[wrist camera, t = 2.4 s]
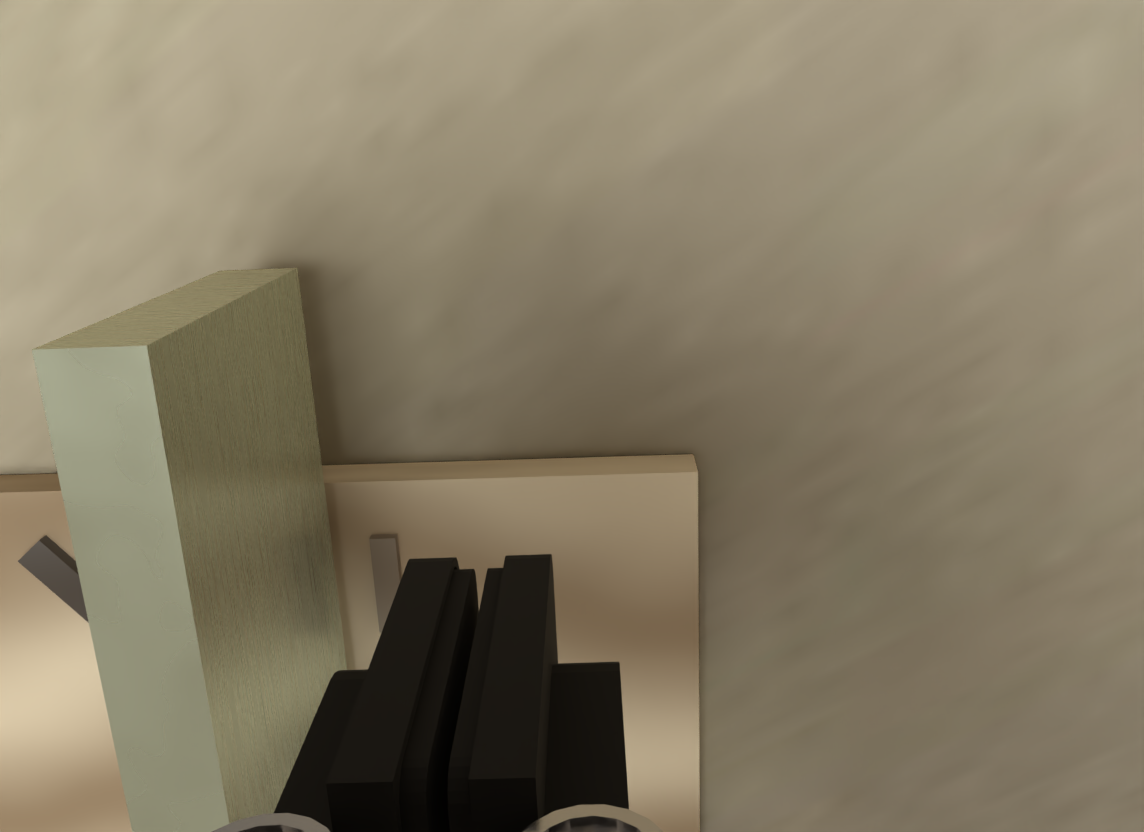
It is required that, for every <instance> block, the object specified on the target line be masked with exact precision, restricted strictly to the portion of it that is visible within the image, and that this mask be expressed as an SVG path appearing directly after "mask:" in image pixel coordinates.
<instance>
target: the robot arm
mask: <svg viewBox="0 0 1144 832" xmlns="http://www.w3.org/2000/svg"><path fill="white" fill-rule="evenodd" d="M212 832H663V831H662V830H661V829H660V828H659V827H658V826H657V825H655V824H654V823H653V822H652V821H651V820H650V819H648V818H646V817H644V816H642V815H639V814H637V813H635V812H633V811H631V810H629V800H628V785H627V769H626V754H625V738H624V722H623V707H622V691H621V676H620V663H619V662H589V663H558V651H557V633H556V614H555V595H554V577H553V562H552V554H537V555H508V556H505V560H504V566H503V568H488V569H487V573H486V578H485V583H484V588H483V593H482V598H481V603H480V609H479V605H478V593H477V581H476V574H475V570H474V569H459V564H458V560H457V558H456V557H449V558H419V559H409V560H408V562H407V565H406V567H405V570H404V573H403V576H402V578H401V581H400V584H399V586H398V589H397V592H396V595H395V597H394V600H393V603H392V605H391V608H390V611H389V614H388V616H387V619H386V622H385V624H384V627H383V630H382V633H381V635H380V638H379V641H378V643H377V646H376V649H375V652H374V654H373V657H372V660H371V662H370V665H369V668H368V669H364V670H339V671H337V672H335V673H334V674H333V676H332V678H331V679H330V681H329V684H328V686H327V689H326V691H325V693H324V696H323V698H322V700H321V703H320V705H319V707H318V710H317V712H316V714H315V717H314V719H313V721H312V724H311V726H310V728H309V731H308V733H307V736H306V738H305V740H304V743H303V745H302V747H301V750H300V752H299V754H298V757H297V759H296V761H295V764H294V766H293V768H292V771H291V773H290V776H289V778H288V780H287V783H286V785H285V787H284V790H283V792H282V794H281V797H280V799H279V801H278V804H277V806H276V808H275V811H274V813H272V814H261V815H257V816H252V817H248V818H244V819H240V820H237V821H234V822H232V823H230V824H228V825H225V826H223V827H221V828H219V829H216V830H214V831H212Z"/></svg>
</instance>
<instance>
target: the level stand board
mask: <svg viewBox="0 0 1144 832" xmlns="http://www.w3.org/2000/svg"><path fill="white" fill-rule="evenodd" d="M322 471H323V479H324V487H325V495H326V503H327V511H328V519H329V527H330V535H331V543H332V551H333V559H334V567H335V575H336V584H337V592H338V600H339V608H340V616H341V624H342V632H343V640H344V648H345V656H346V664H347V670H364V669H368V668H369V665H370V662H371V660H372V657H373V654H374V652H375V649H376V646H377V643H378V641H379V638H380V635H381V633H382V630H383V627H384V624H385V622H386V619H387V616H388V614H389V611H390V608H391V605H392V603H393V600H394V597H395V595H396V592H397V589H398V586H399V584H400V581H401V578H402V576H403V573H404V570H405V567H406V565H407V562H408V560H409V559H419V558H449V557H456V558H457V560H458V564H459V569H474V570H475V574H476V581H477V593H478V605H479V609H480V603H481V598H482V593H483V588H484V583H485V578H486V573H487V569H488V568H503V566H504V560H505V556H508V555H537V554H552V562H553V577H554V595H555V614H556V633H557V651H558V663H589V662H619V663H620V676H621V691H622V707H623V722H624V738H625V754H626V769H627V785H628V800H629V810H631V811H633V812H635V813H637V814H639V815H642V816H644V817H646V818H648V819H650V820H651V821H652V822H653V823H654V824H655V825H657V826H658V827H659V828H660V829H661V830H662V831H663V832H700V785H699V570H698V470H697V466H696V463H695V459H694V455H693V454H682V455H649V456H616V457H583V458H550V459H517V460H484V461H451V462H418V463H385V464H353V465H322ZM0 832H132V828H131V823H130V819H129V814H128V809H127V804H126V799H125V795H124V790H123V785H122V780H121V775H120V771H119V766H118V761H117V756H116V751H115V747H114V742H113V737H112V732H111V727H110V723H109V718H108V713H107V708H106V703H105V699H104V694H103V689H102V684H101V679H100V675H99V670H98V665H97V660H96V655H95V651H94V646H93V641H92V636H91V631H90V626H89V622H88V617H87V612H86V607H85V602H84V598H83V593H82V588H81V583H80V578H79V574H78V569H77V564H76V559H75V554H74V550H73V545H72V540H71V535H70V530H69V526H68V521H67V516H66V511H65V506H64V502H63V497H62V492H61V487H60V482H59V478H58V473H56V474H23V475H0Z"/></svg>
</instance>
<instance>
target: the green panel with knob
mask: <svg viewBox="0 0 1144 832" xmlns="http://www.w3.org/2000/svg"><path fill="white" fill-rule="evenodd" d="M32 353H33V357H34V362H35V367H36V372H37V377H38V381H39V386H40V391H41V396H42V401H43V405H44V410H45V415H46V420H47V425H48V430H49V434H50V439H51V444H52V449H53V454H54V458H55V463H56V468H57V473H58V478H59V482H60V487H61V492H62V497H63V502H64V506H65V511H66V516H67V521H68V526H69V530H70V535H71V540H72V545H73V550H74V554H75V559H76V564H77V569H78V574H79V578H80V583H81V588H82V593H83V598H84V602H85V607H86V612H87V617H88V622H89V626H90V631H91V636H92V641H93V646H94V651H95V655H96V660H97V665H98V670H99V675H100V679H101V684H102V689H103V694H104V699H105V703H106V708H107V713H108V718H109V723H110V727H111V732H112V737H113V742H114V747H115V751H116V756H117V761H118V766H119V771H120V775H121V780H122V785H123V790H124V795H125V799H126V804H127V809H128V814H129V819H130V823H131V828H132V832H212V831H214V830H216V829H219V828H221V827H223V826H225V825H228V824H230V823H232V822H234V821H237V820H240V819H244V818H248V817H252V816H257V815H261V814H272V813H274V811H275V808H276V806H277V804H278V801H279V799H280V797H281V794H282V792H283V790H284V787H285V785H286V783H287V780H288V778H289V776H290V773H291V771H292V768H293V766H294V764H295V761H296V759H297V757H298V754H299V752H300V750H301V747H302V745H303V743H304V740H305V738H306V736H307V733H308V731H309V728H310V726H311V724H312V721H313V719H314V717H315V714H316V712H317V710H318V707H319V705H320V703H321V700H322V698H323V696H324V693H325V691H326V689H327V686H328V684H329V681H330V679H331V678H332V676H333V674H334V673H335V672H337V671H339V670H347V664H346V656H345V648H344V640H343V632H342V624H341V616H340V608H339V600H338V592H337V584H336V575H335V567H334V559H333V551H332V543H331V535H330V527H329V519H328V511H327V503H326V495H325V487H324V479H323V471H322V462H321V454H320V446H319V438H318V430H317V422H316V414H315V406H314V398H313V390H312V382H311V374H310V366H309V358H308V349H307V341H306V333H305V325H304V317H303V309H302V301H301V293H300V285H299V277H298V269H297V268H278V269H252V270H226V271H218V272H216V273H214V274H211V275H209V276H206V277H204V278H202V279H199V280H197V281H194V282H192V283H190V284H187V285H185V286H183V287H180V288H178V289H175V290H173V291H171V292H168V293H166V294H163V295H161V296H159V297H156V298H154V299H152V300H149V301H147V302H144V303H142V304H140V305H137V306H135V307H132V308H130V309H128V310H125V311H123V312H121V313H118V314H116V315H113V316H111V317H109V318H106V319H104V320H101V321H99V322H97V323H94V324H92V325H90V326H87V327H85V328H82V329H80V330H78V331H75V332H73V333H70V334H68V335H66V336H63V337H61V338H59V339H56V340H54V341H51V342H49V343H47V344H44V345H42V346H39V347H37V348H35V349H32Z"/></svg>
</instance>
